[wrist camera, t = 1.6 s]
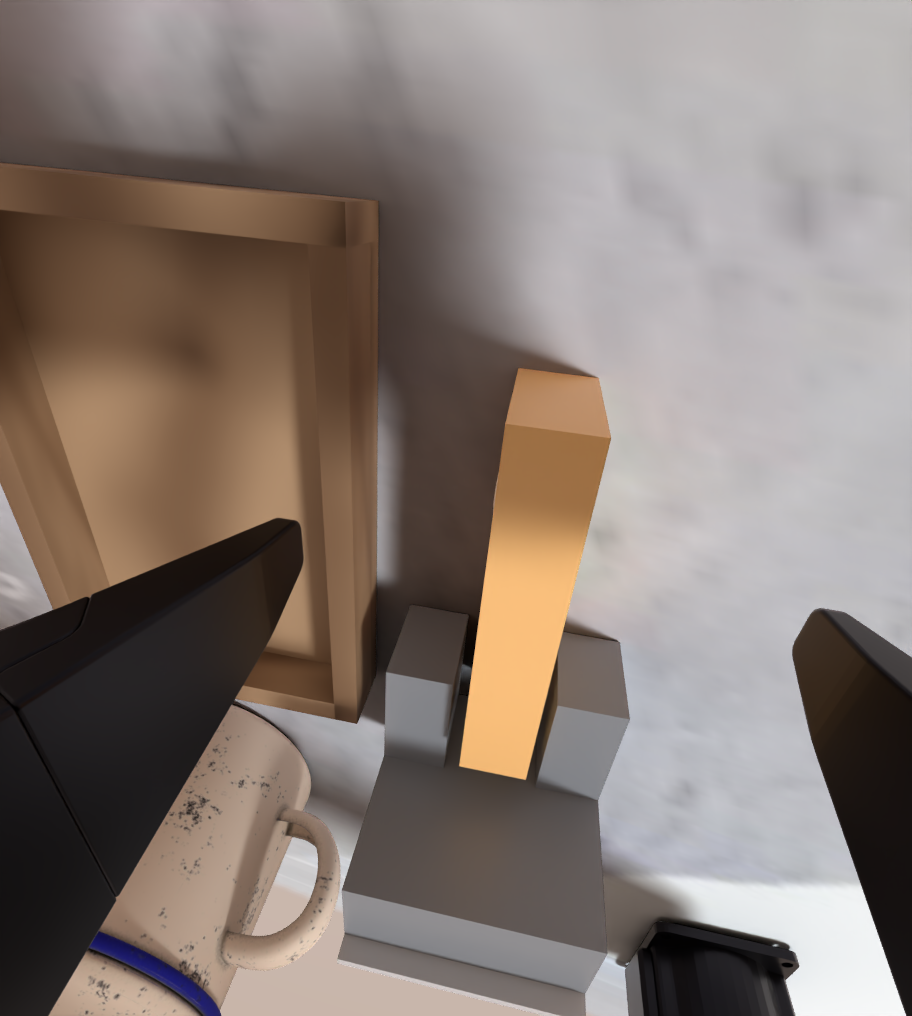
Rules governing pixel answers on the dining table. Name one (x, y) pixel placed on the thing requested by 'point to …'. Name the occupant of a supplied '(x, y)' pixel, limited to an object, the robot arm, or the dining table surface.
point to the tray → (197, 397)
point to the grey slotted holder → (486, 832)
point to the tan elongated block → (532, 561)
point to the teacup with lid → (210, 885)
